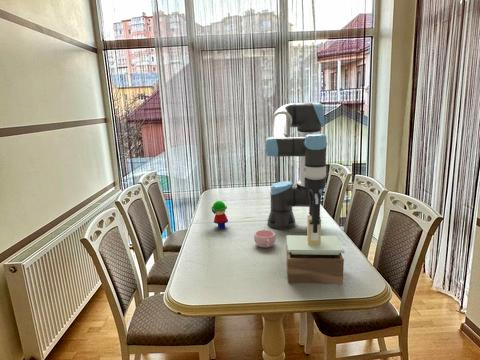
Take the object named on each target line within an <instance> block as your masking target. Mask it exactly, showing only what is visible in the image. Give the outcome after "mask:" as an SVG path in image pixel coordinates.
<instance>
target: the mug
mask: <svg viewBox="0 0 480 360" xmlns="http://www.w3.org/2000/svg"><path fill="white" fill-rule="evenodd" d="M253 236H254V237H253V238H254V239H253V241H254V242H255V245H256V246H258V247H259V248H265V249H266V248H271V247H273V246H274V244H275V243H276V239H277V237H276V233H275V232H274V230H273V231H272V230H271V229H270V230H269V229H260V230H257V231H256V232H254V235H253Z"/></svg>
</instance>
